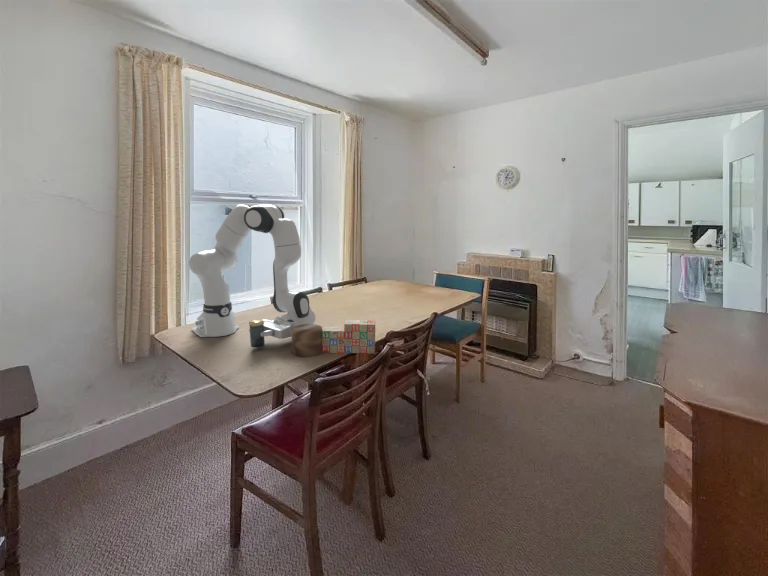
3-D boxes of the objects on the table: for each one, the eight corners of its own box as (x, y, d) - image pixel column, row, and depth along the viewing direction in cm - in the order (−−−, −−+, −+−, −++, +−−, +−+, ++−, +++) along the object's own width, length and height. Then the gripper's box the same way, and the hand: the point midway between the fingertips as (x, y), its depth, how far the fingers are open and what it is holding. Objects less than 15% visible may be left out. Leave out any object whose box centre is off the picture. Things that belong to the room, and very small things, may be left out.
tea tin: (247, 345, 157) (246, 322, 155) (259, 342, 162) (258, 319, 160) (255, 348, 154) (254, 324, 152) (267, 345, 158) (266, 321, 156)
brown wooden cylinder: (286, 352, 154) (285, 328, 153) (309, 345, 164) (308, 322, 162) (306, 359, 147) (305, 334, 145) (328, 351, 156) (328, 327, 155)
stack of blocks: (321, 353, 154) (321, 323, 152) (324, 347, 161) (323, 319, 158) (374, 353, 154) (374, 324, 152) (375, 348, 160) (375, 320, 158)
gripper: (268, 314, 172) (240, 320, 162) (297, 322, 160) (269, 330, 149) (269, 327, 173) (241, 335, 163) (298, 337, 161) (270, 345, 150)
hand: (255, 332), depth 156 cm, fingers closed on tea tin, 5 cm apart
